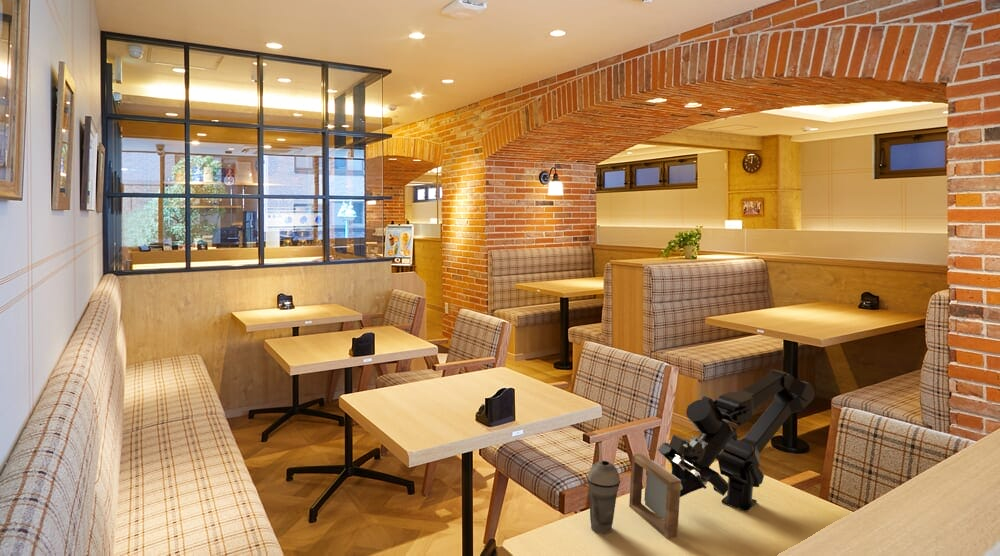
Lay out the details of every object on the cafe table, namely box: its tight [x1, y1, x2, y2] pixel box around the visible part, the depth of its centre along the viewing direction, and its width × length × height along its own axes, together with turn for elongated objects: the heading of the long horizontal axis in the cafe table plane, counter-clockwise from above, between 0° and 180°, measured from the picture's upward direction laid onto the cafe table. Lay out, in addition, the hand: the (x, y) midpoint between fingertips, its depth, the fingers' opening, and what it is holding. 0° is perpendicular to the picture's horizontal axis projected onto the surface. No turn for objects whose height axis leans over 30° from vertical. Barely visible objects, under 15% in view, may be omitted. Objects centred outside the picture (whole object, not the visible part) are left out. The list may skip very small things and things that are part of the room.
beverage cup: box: [586, 441, 621, 535], centre depth 134 cm, size 7×7×20 cm
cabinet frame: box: [628, 453, 680, 540], centre depth 139 cm, size 2×15×13 cm, turn 21°
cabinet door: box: [644, 459, 683, 528], centre depth 139 cm, size 2×12×11 cm, turn 21°
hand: (669, 497), depth 138 cm, fingers closed
